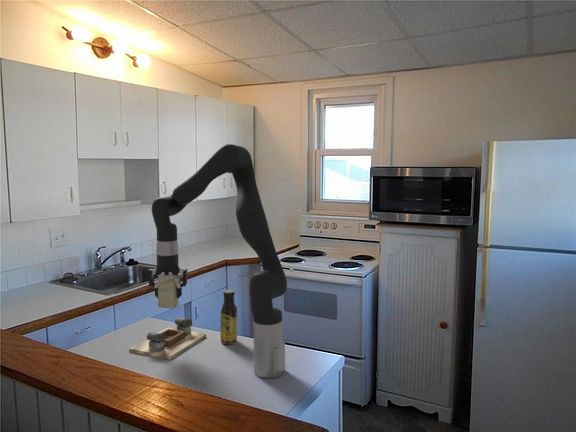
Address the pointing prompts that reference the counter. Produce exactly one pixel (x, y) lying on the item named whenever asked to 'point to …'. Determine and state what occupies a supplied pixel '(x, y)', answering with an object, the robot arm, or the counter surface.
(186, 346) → the board
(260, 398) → the counter surface
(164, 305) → the skincare box
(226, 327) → the sauce bottle
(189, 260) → the counter surface
